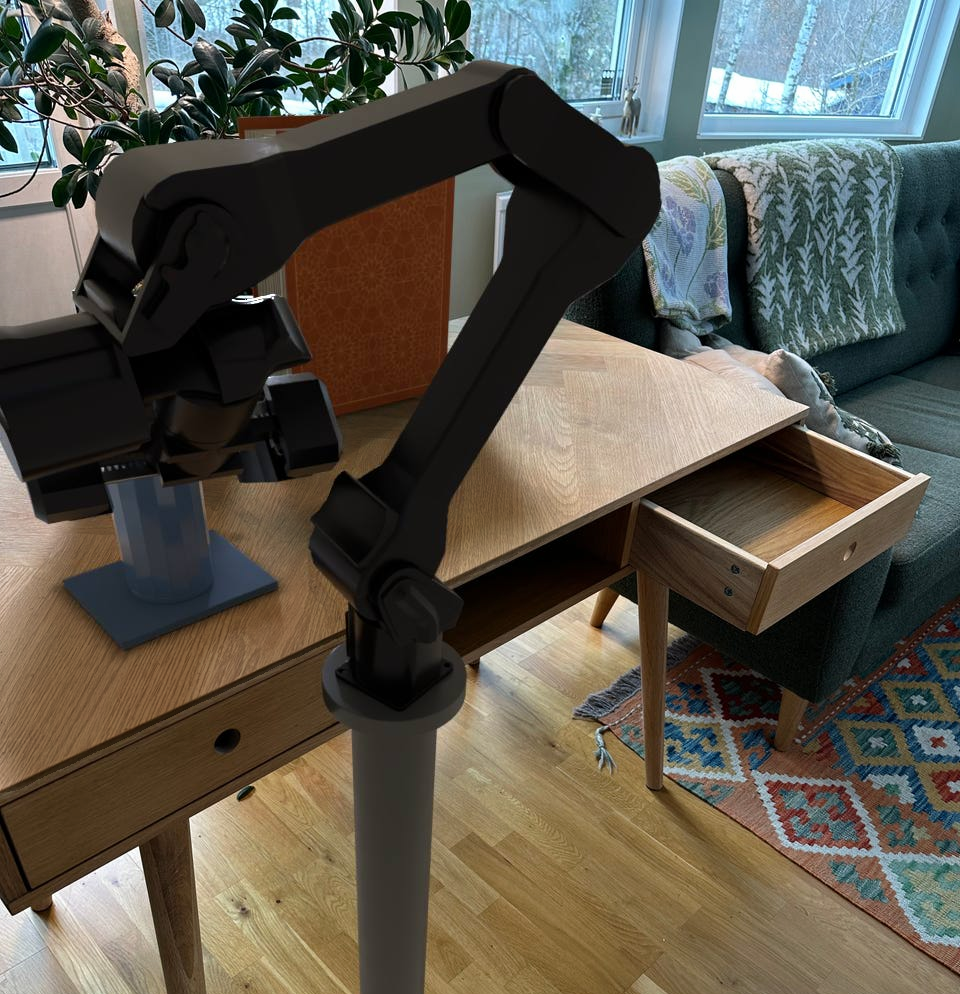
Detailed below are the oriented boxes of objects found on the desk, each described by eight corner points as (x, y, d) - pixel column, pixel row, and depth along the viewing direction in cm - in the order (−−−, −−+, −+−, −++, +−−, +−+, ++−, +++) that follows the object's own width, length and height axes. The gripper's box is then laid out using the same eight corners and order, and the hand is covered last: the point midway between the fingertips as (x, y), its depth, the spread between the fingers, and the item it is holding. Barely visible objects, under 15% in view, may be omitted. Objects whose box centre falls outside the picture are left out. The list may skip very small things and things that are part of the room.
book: (296, 425, 102) (276, 130, 84) (262, 401, 107) (237, 117, 89) (452, 388, 114) (465, 123, 96) (415, 367, 119) (421, 111, 101)
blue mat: (213, 535, 82) (212, 528, 82) (278, 588, 76) (278, 580, 76) (63, 587, 74) (61, 579, 74) (123, 651, 68) (122, 642, 68)
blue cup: (231, 578, 75) (215, 449, 68) (163, 614, 71) (138, 480, 63) (178, 549, 78) (156, 422, 71) (109, 582, 74) (79, 450, 67)
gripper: (319, 242, 52) (269, 362, 66) (-35, 267, 44) (-5, 398, 58) (376, 420, 51) (314, 503, 65) (29, 478, 43) (43, 558, 57)
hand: (175, 487), depth 61 cm, fingers open, 9 cm apart
